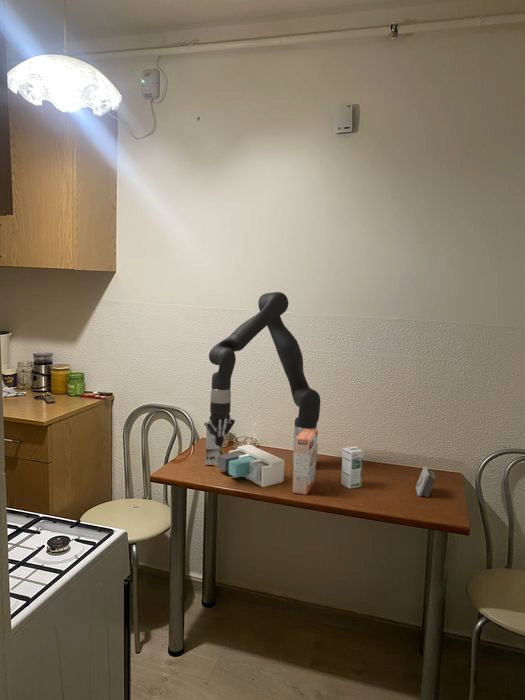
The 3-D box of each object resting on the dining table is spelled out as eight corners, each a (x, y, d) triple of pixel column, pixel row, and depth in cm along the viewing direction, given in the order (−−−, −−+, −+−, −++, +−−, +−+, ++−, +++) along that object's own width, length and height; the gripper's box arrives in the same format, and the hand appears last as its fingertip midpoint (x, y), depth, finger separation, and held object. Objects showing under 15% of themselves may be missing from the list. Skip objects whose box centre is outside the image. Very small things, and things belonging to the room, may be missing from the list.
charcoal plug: (238, 463, 211) (239, 451, 211) (245, 466, 208) (246, 454, 207) (218, 467, 205) (218, 455, 205) (225, 471, 201) (225, 459, 201)
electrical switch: (415, 487, 198) (419, 464, 196) (429, 490, 197) (433, 467, 196) (417, 497, 189) (422, 473, 187) (432, 500, 188) (436, 476, 186)
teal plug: (249, 468, 206) (250, 456, 205) (257, 472, 202) (257, 460, 201) (228, 473, 200) (229, 461, 199) (235, 477, 196) (236, 464, 195)
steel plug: (269, 472, 202) (269, 460, 202) (277, 476, 198) (277, 464, 198) (248, 477, 196) (248, 464, 195) (256, 481, 192) (256, 468, 192)
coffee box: (220, 466, 212) (221, 428, 210) (204, 466, 212) (205, 428, 210) (222, 459, 221) (223, 422, 219) (207, 458, 221) (208, 422, 220)
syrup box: (349, 489, 194) (352, 451, 192) (340, 483, 199) (342, 447, 197) (361, 487, 196) (364, 450, 195) (352, 481, 202) (354, 445, 200)
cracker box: (307, 495, 186) (310, 439, 184) (291, 493, 188) (294, 437, 185) (315, 482, 199) (318, 429, 197) (300, 480, 201) (303, 427, 199)
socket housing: (248, 464, 217) (249, 444, 215) (283, 481, 198) (284, 460, 197) (228, 468, 210) (229, 448, 209) (262, 487, 192) (263, 464, 191)
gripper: (229, 396, 199) (227, 440, 201) (200, 400, 191) (198, 445, 193) (240, 400, 193) (239, 445, 195) (211, 404, 185) (209, 451, 187)
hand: (218, 445), depth 194 cm, fingers closed
